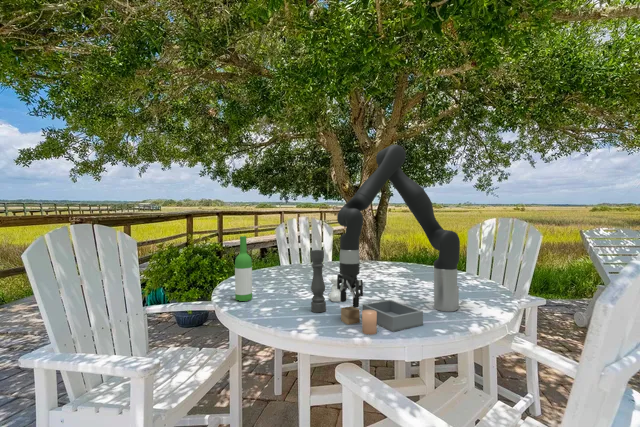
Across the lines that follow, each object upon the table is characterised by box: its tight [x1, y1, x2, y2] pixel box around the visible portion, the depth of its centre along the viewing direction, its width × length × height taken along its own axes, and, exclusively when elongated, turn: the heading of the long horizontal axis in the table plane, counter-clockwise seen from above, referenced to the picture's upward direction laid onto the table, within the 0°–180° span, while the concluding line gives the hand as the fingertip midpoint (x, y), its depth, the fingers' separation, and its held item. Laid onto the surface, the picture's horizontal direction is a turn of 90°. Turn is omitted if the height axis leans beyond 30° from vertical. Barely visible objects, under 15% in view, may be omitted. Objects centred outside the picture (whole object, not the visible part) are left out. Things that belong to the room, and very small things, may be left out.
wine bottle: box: [234, 235, 253, 302], centre depth 156 cm, size 8×8×30 cm
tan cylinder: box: [361, 310, 378, 336], centre depth 114 cm, size 5×5×7 cm
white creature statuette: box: [328, 274, 349, 303], centre depth 155 cm, size 10×9×12 cm
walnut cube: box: [340, 305, 361, 325], centre depth 125 cm, size 5×5×5 cm
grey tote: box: [361, 299, 424, 333], centre depth 125 cm, size 14×18×5 cm
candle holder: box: [310, 249, 327, 313], centre depth 139 cm, size 6×6×25 cm
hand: (349, 304), depth 125 cm, fingers open, 8 cm apart
